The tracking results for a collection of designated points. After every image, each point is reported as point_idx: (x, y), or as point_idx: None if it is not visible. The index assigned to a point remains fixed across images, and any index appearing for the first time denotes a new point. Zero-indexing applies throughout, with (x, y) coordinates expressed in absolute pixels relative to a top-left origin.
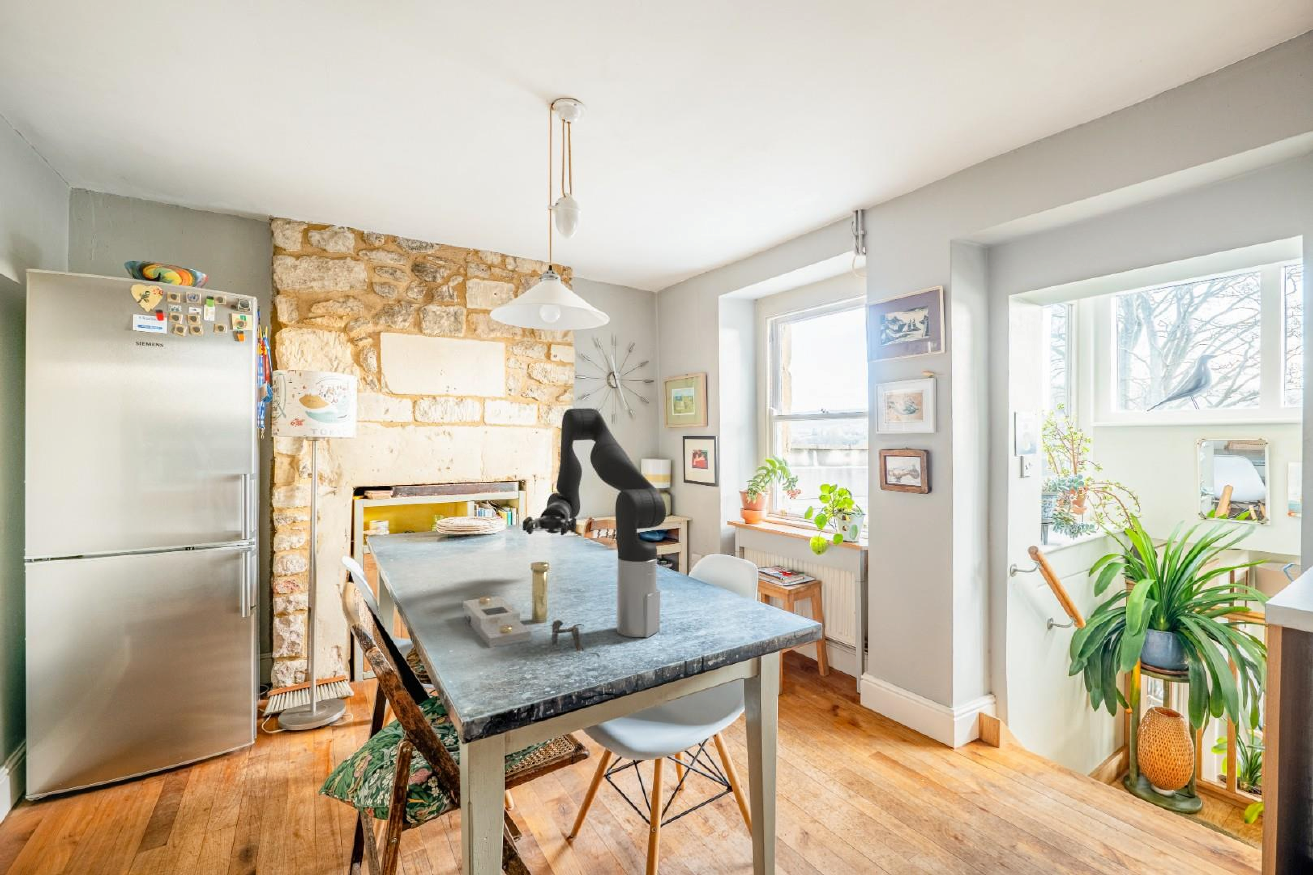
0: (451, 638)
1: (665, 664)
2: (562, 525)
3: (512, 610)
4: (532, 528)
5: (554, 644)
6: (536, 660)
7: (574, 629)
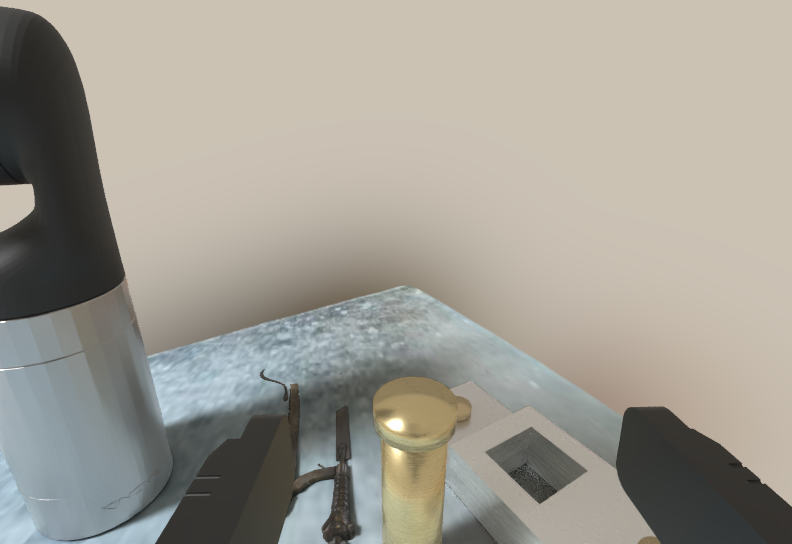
0: (585, 432)
1: (163, 353)
2: (250, 476)
3: (483, 467)
4: (690, 527)
5: (342, 410)
6: (368, 360)
7: None
